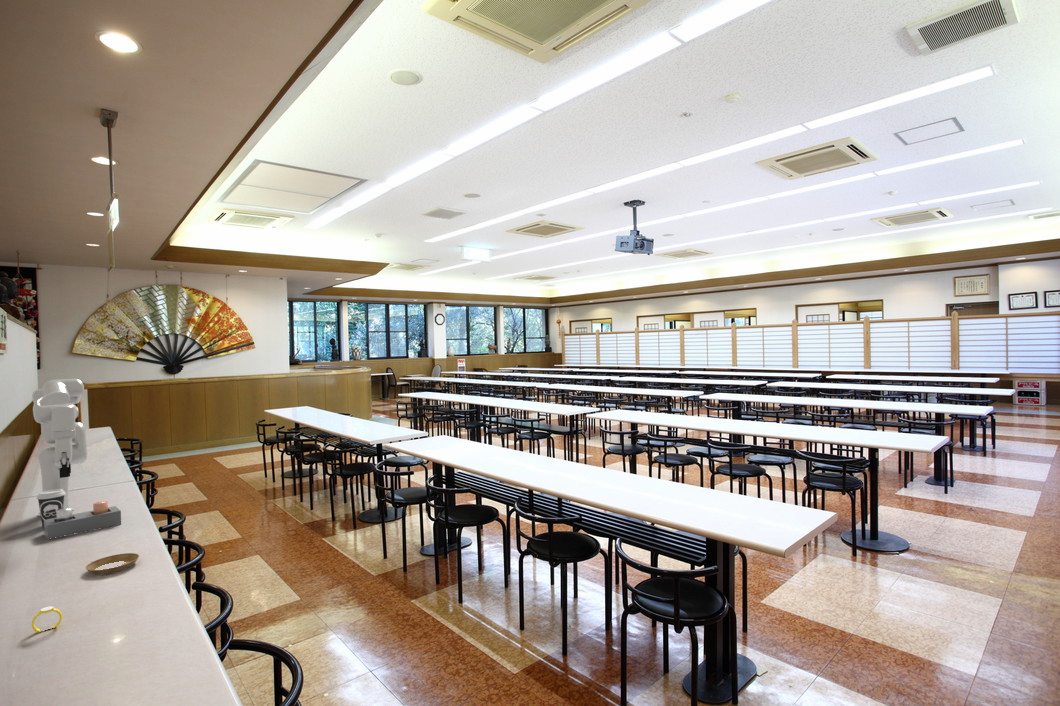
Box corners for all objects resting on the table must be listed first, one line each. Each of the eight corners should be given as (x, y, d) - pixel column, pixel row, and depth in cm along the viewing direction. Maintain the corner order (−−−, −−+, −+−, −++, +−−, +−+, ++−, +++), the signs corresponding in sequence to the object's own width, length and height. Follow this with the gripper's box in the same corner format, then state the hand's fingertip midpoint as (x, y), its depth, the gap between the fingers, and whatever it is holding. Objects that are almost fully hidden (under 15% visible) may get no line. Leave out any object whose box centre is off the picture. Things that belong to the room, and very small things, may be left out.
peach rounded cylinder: (92, 515, 230) (92, 503, 230) (106, 512, 234) (106, 500, 234) (94, 517, 227) (94, 505, 227) (109, 514, 231) (108, 502, 231)
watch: (61, 625, 146) (62, 603, 146) (61, 629, 143) (62, 607, 144) (31, 631, 142) (33, 609, 142) (30, 635, 140) (32, 613, 140)
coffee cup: (72, 521, 237) (71, 488, 237) (51, 528, 227) (49, 494, 227) (53, 521, 238) (52, 488, 238) (31, 528, 228) (30, 494, 228)
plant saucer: (76, 580, 175) (75, 572, 174) (99, 563, 189) (99, 556, 189) (127, 574, 178) (127, 566, 178) (146, 557, 193) (146, 550, 193)
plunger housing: (44, 534, 221) (43, 520, 221) (115, 519, 239) (115, 506, 239) (47, 540, 213) (47, 525, 213) (121, 524, 231) (120, 510, 231)
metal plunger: (56, 522, 221) (55, 509, 221) (71, 519, 225) (71, 506, 225) (57, 525, 218) (57, 512, 218) (73, 522, 222) (73, 509, 222)
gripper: (53, 434, 225) (54, 474, 225) (50, 438, 212) (52, 480, 212) (76, 432, 230) (77, 470, 230) (75, 435, 216) (76, 477, 216)
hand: (65, 475), depth 221 cm, fingers open, 9 cm apart
